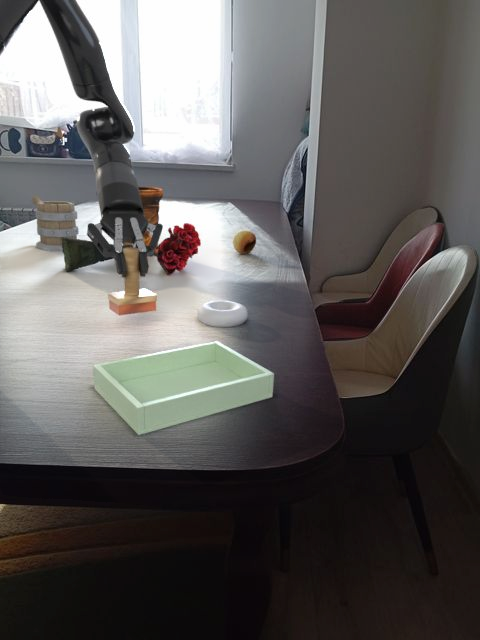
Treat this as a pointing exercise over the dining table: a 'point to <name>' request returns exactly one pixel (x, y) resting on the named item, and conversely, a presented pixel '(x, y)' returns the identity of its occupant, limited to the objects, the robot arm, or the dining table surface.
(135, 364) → the tray
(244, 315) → the donut
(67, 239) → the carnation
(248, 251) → the fruit
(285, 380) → the dining table surface
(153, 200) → the vessel
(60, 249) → the tankard
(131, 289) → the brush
